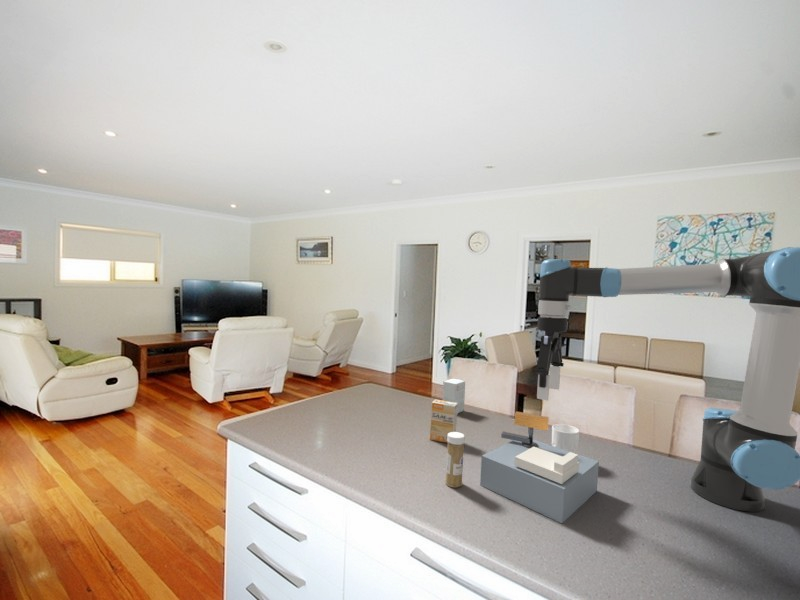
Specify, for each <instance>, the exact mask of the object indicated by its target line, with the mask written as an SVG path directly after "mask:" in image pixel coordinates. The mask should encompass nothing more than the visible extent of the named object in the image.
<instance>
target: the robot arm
mask: <svg viewBox="0 0 800 600" xmlns="http://www.w3.org/2000/svg"><path fill="white" fill-rule="evenodd" d="M571 263H572V262H571V261H570V260H569V259H560V258H556V259H555V258H551V259H544V260H543V261H542V262H541V265H540V274H539V295H538V296H539V297H538V309H537V311H538V312H537V314H538V315H539V316H538V317H537V330H539V331H541V332H544V335H541V336H540V345H539V346H540V347H539V351H538V357H537V364H536V369H535V370H534V374H535V375H537V388H536V390H537V391H536V399H538V400H542V401H549V396H550V395H549V394H550V393H549V392H550V391H549V390H550V389H552V390H557V391H560V379H561V367H564V365H565V364H564V362H563V351H562V350H563V349H562V334H563V333H565V332H567V331H568V319H567V316H568V315H569V313H568V312H569V310H570V309H571V305H570V304H569V299H570V298H569V297H570V296H578V297H579V296H581V297H583V296H584V297H597V298H598V297H600V298H601V297H602V298H617V297H618V296H623V295H625V296H627V295H630V296H631V295H656V294H657V295H659V294H661V295H662V294H665V295H666V294H668V295H669V294H697V293H698V294H700V293H704V294H705V293H716V294H718V296H720V297H721V296H725V297H727V296H731V297H732V296H735V297H736V296H737V297H746V298H747V297H748V298H749V302H748V303H749V304H748V305H749V306H750V307H751V308H752V309H753V310H754V311H755V312H756V313H755V318H754V322H753V323H754V325H753V330H752V336H751V341H750V348H749V353H748V359H747V365H746V371H745V376H744V382H743V388H742V394H741V400H740V405H739V410H736V409H728V408H719V407H709V408H706V409H705V411H704V414H703V418H702V421H703V422H702V434H701V435H702V437H701V449H700V460H699V463H698V465H697V466H696V468H695V470H694V471H693V474H692V476H691V478H690V488H691V489H692V491H693V492H694V493H696V494H697V495H698V496H700V497H701V498H703V499H705V500H707V501H710V502H712V503H714V504H716V505H719V506H722V507H726V508H729V509H733V510H737V511H744V512H751V513H753V512H760V511H763V510H764V509H765V502H766V499H765V495H764V491H763V489H764V490H772V491H774V490H775V491H777V490H784V489H785V488H789V487H792V486H794V485H795V484H797V483H798V482H799V481H800V453H799V452H798V451H797V450H796V445H797V438H798V432H797V430H796V429H795V428H794V427H793V426H792V425H791V417H792V411H793V405H794V401H795V395H796V389H797V388H796V387H797V383H798V377H799V373H800V246H795V247H792V246H791V247H784V248H781V249H776V250H771V251H765V252H759V253H757V254H756V253H755V254H751V255H747V256H741V257H737V258H725V259H719V260H718V261H716V262H715V263H705V264H703V263H702V264H684V265H666V266H665V265H664V266H649V267H648V266H647V267H628V268H616V267H615V268H612V267H574V266H572V264H571Z"/></svg>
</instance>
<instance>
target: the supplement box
mask: <svg viewBox="0 0 800 600" xmlns="http://www.w3.org/2000/svg"><path fill="white" fill-rule="evenodd" d="M457 407H458V403H454V402H448V401H443V399H441V400H440V399H436V398H435V399H434V400H433V401H432V402H431V410H430V411H431V412H430V414H431V415H430V427H429V428H430V430H429V440H431V441H437V442H442V443H447V444H448V441H447V436H448V433H450V432H457V425H458V423H457V422H458V421H457V420H458V419H457V418H458V414H457Z"/></svg>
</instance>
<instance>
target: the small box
mask: <svg viewBox="0 0 800 600" xmlns="http://www.w3.org/2000/svg"><path fill="white" fill-rule="evenodd" d="M442 384H443V385H442V401H448V402H454V403H458V407H457V415H458V414H459V413H461V412H465V398H466V397H465V396H466V395H465V394H466V380H462V379H458V378H450V379H447V380H444V381H443V383H442Z"/></svg>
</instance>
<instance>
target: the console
mask: <svg viewBox="0 0 800 600" xmlns="http://www.w3.org/2000/svg"><path fill="white" fill-rule="evenodd" d="M532 447H537V448H539V449H542V450H545V451H548V452H551V453H554V454H557V455H560V456H565V455H566V454H568V453H569V451H566V450H563V449H560V448H557V447H554V446H552V444H551V445H550V444H547V443H545V442H542V441H539V440H536V439H533V443H532V444H529V443H525V442H520V441H515V440H511V441H509V442H507V443H505V444H503V445H501V446H499V447H497V448H495V449H493V450H491V451H489V452H486V453H484V454H483V455H481V462H480V480H479V482H480V484H479V485H480V486H481V487H483V488H486V489H487V490H489V491H491V492H494V493H496V494H498V495H500V496H502V497H504V498H506V499H509V500H511V501H513V502H515V503H517V504H520V505H521V506H524V507H525V508H529V509H530V510H532V511H534V512H536V513H539V514H541V515H543V516H545V517H547V518H549V519H551V520H554V522H555V521H556V522H557V523H559V524H564V523H565V522H566V520H568V518H570V517H571V516H572V515H573V514H574V513H575V512H576V511H577V510H578V509H579V508H580V507H581V506H583V505H584V504H585V503H586V502H587V501H588V500H589V499H590V498H591V497H592V496H593V495H595V493H596V492H598V480H599V464H600V461H599V460H597V459H592V458H590V457H587V456H583V455H581V454H578V462H579V471H578V472H577V473H576V474H574V475H573V476H572V477H570V478H569V479H568V480H567V481H565V482H564V483H563V484H560V483H557V482H555V481H552V480H550V479H547V478H545V477H542V476H540V475H537V474H535V473H532V472H530V471H527V470H525V469H522V468H520V467H517V466H515V465H514V463H515V456H517V455H519V454H521V453H523V452H525V451H526V450H528V449H530V448H532Z"/></svg>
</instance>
